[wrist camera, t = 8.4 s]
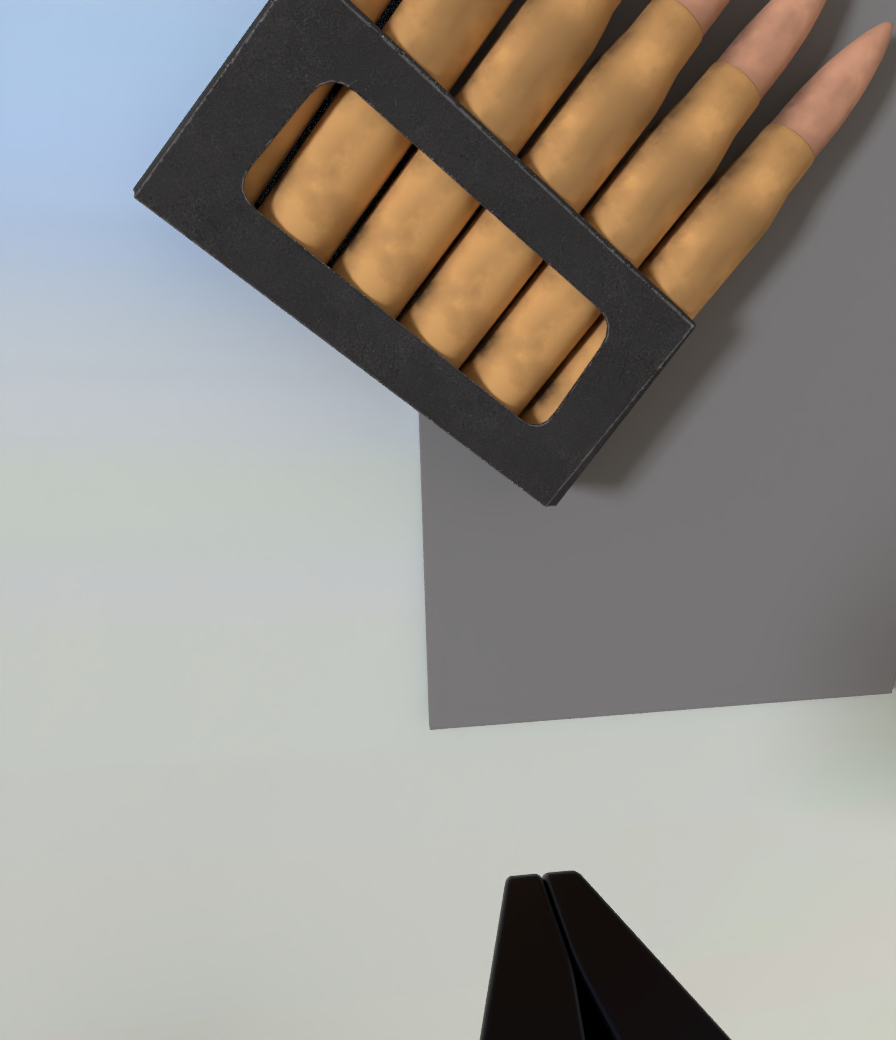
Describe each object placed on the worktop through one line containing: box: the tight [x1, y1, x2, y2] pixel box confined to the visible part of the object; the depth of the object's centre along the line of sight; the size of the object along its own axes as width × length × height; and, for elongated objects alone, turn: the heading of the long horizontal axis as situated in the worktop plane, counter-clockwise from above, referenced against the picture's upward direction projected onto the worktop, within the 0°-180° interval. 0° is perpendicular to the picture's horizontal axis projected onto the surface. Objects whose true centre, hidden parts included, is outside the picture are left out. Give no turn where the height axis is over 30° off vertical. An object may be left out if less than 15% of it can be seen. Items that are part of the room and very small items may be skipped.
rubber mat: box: [410, 0, 896, 730], centre depth 19 cm, size 14×20×1 cm
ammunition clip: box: [133, 0, 893, 507], centre depth 16 cm, size 11×2×12 cm
